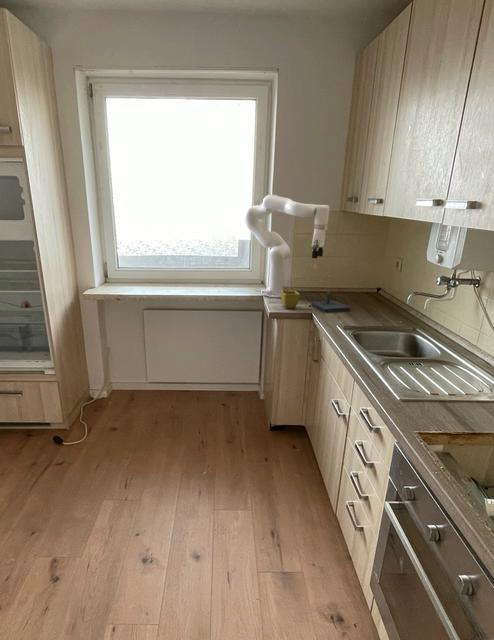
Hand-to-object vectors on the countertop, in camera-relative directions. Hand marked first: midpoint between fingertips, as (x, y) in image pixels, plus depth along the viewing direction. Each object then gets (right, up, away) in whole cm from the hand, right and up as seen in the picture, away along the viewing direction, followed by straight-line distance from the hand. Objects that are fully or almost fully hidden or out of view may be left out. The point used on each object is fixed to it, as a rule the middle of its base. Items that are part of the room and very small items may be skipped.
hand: (317, 257), depth 250 cm
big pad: (+6, -31, -7) cm, 33 cm away
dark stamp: (+5, -30, -3) cm, 31 cm away
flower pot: (-18, -31, -6) cm, 37 cm away
